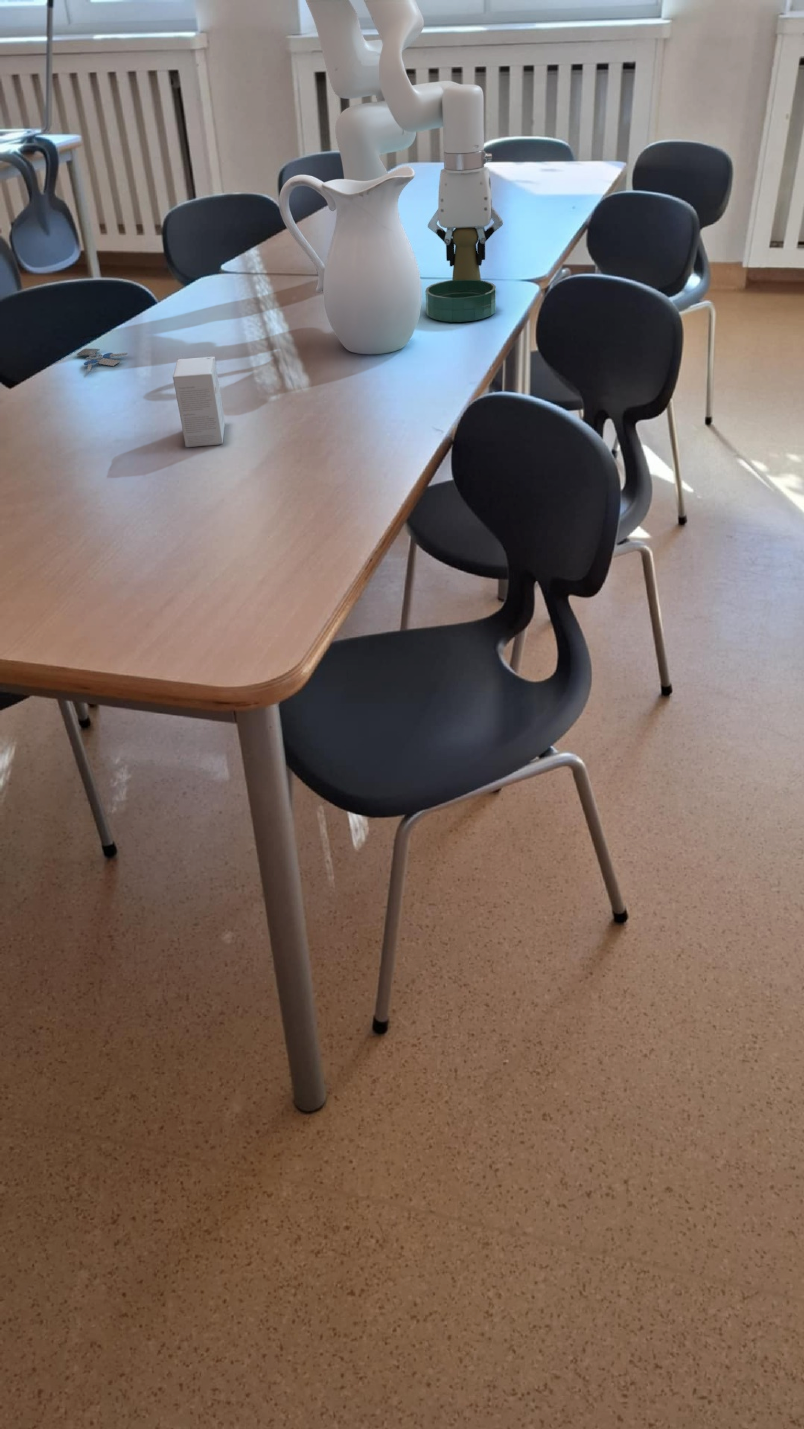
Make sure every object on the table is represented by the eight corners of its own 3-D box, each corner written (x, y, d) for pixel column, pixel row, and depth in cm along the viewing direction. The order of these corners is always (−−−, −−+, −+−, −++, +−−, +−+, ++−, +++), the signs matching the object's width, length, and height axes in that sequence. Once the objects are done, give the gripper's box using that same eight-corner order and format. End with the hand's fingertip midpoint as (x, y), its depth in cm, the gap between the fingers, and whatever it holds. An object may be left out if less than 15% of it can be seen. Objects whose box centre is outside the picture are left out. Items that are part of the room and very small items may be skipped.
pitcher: (436, 333, 193) (429, 162, 176) (405, 362, 180) (395, 182, 164) (315, 327, 200) (298, 162, 184) (277, 355, 187) (256, 181, 171)
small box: (189, 428, 161) (176, 358, 155) (226, 425, 161) (215, 355, 155) (184, 448, 155) (171, 376, 148) (223, 445, 155) (211, 373, 149)
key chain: (74, 353, 194) (73, 348, 194) (119, 345, 197) (118, 340, 196) (87, 374, 184) (86, 370, 183) (134, 366, 186) (134, 361, 186)
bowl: (423, 324, 198) (422, 299, 195) (430, 304, 208) (429, 280, 206) (493, 322, 196) (493, 297, 193) (497, 302, 206) (497, 278, 204)
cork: (479, 290, 209) (478, 229, 203) (449, 290, 210) (447, 230, 204) (483, 281, 214) (483, 222, 207) (454, 282, 215) (452, 223, 208)
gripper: (510, 156, 201) (510, 258, 211) (421, 160, 203) (425, 260, 214) (508, 163, 195) (508, 268, 205) (416, 167, 197) (421, 270, 208)
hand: (465, 263), depth 209 cm, fingers closed on cork, 4 cm apart
